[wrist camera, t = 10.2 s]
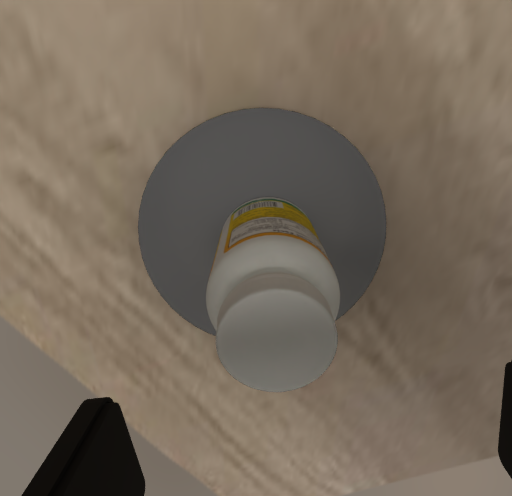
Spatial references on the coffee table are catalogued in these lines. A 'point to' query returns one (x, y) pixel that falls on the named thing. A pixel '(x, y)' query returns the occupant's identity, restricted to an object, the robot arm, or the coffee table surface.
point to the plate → (252, 187)
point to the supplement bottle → (273, 297)
